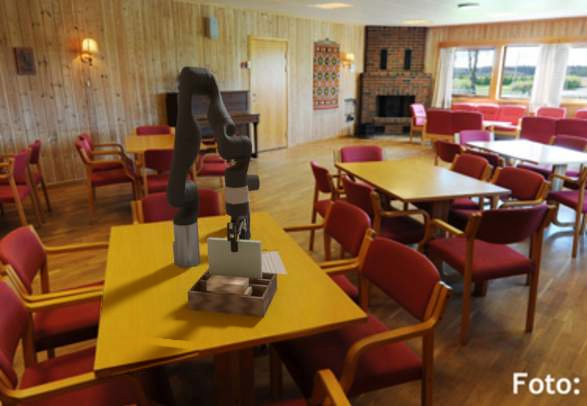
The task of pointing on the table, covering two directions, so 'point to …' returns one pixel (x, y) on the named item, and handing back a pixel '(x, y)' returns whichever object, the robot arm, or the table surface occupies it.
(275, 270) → the baseboard molding
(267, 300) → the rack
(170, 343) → the table surface
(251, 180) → the rubber mallet
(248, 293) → the offcut middle
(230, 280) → the offcut top
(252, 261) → the tall sheet
